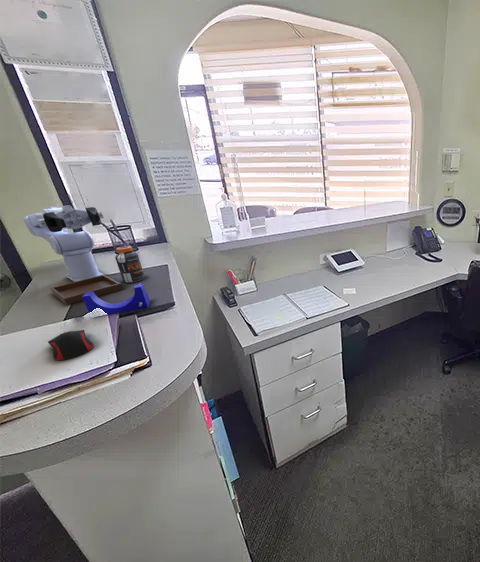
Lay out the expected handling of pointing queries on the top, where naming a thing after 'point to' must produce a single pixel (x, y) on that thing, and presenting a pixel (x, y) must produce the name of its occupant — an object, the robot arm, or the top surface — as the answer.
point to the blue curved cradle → (133, 303)
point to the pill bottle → (129, 264)
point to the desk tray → (85, 289)
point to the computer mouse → (70, 345)
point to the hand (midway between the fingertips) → (80, 220)
